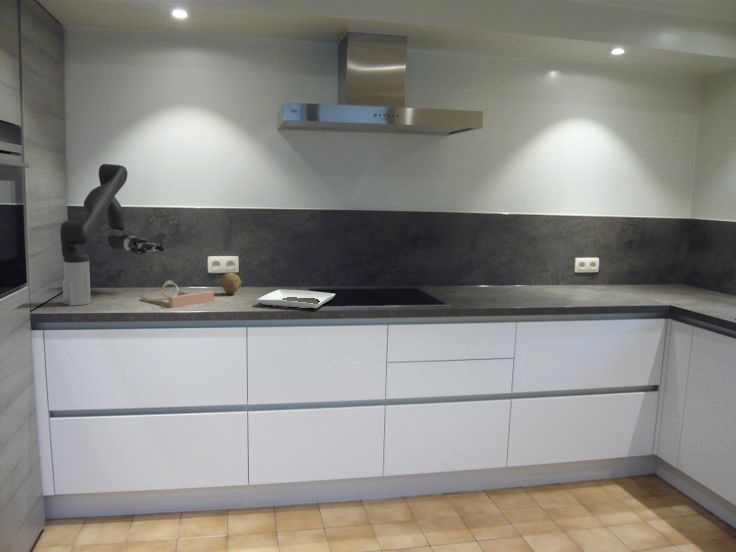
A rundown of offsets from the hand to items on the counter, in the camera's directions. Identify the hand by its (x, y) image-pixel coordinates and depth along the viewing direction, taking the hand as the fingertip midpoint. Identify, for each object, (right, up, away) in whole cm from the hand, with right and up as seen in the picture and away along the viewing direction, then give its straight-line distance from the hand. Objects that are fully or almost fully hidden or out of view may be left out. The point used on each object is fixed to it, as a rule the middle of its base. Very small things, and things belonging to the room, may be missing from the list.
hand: (154, 250), depth 260 cm
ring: (+8, -21, -3) cm, 23 cm away
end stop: (+20, -23, -12) cm, 32 cm away
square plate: (+63, -24, -2) cm, 67 cm away
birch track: (+11, -22, -5) cm, 25 cm away
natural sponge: (+31, -20, +13) cm, 39 cm away
